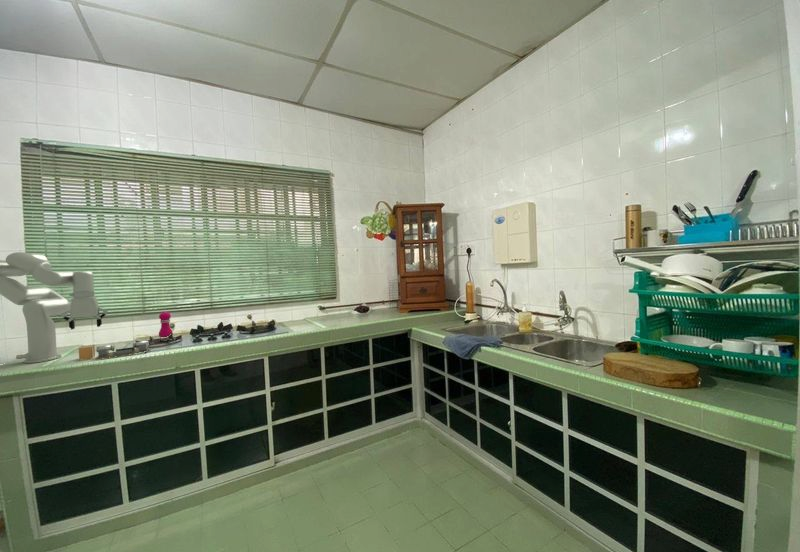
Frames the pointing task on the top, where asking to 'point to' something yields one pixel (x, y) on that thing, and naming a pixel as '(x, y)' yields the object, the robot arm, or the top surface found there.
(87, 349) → the block
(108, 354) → the shaft bench
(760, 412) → the top surface
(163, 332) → the pepper mill
